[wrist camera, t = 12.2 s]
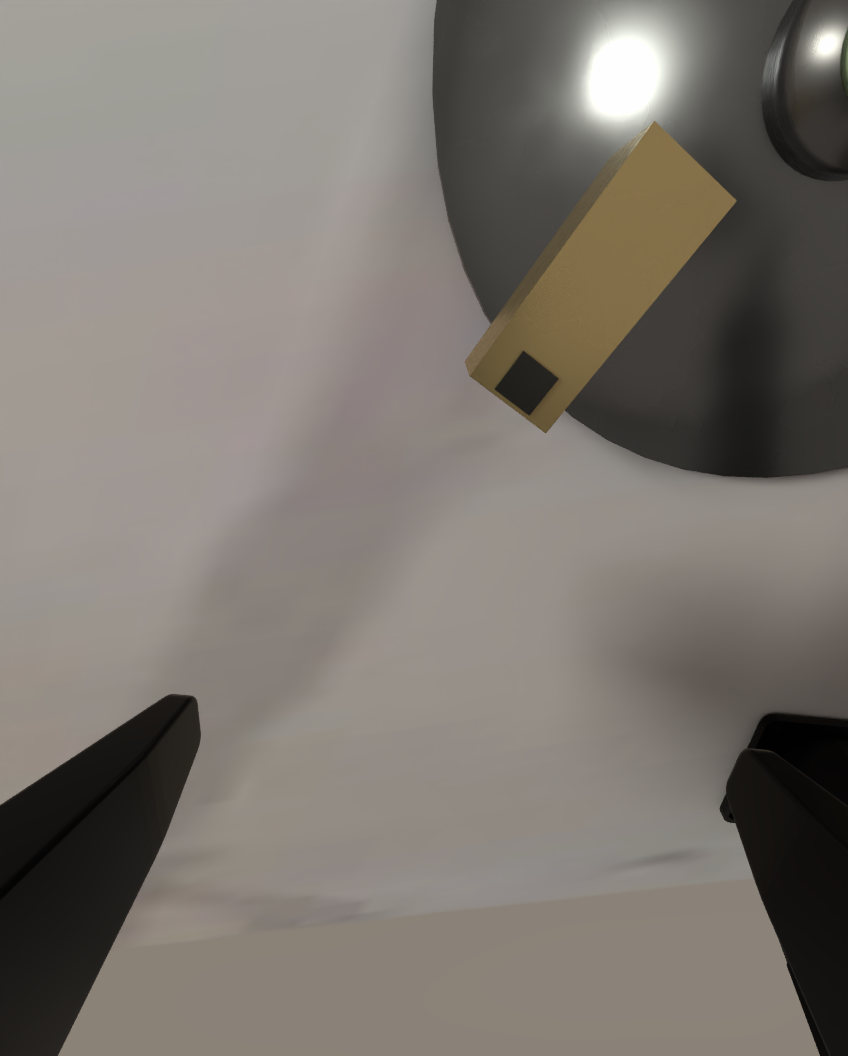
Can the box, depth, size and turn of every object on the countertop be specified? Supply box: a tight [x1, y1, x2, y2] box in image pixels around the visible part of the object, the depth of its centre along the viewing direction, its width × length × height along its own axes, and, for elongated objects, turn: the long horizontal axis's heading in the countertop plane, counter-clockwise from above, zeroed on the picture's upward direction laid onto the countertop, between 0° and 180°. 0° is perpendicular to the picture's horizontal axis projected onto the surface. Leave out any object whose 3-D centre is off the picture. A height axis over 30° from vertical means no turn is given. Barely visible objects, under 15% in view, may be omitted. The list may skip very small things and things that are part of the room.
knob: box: [465, 121, 737, 433], centre depth 13 cm, size 6×2×5 cm, turn 145°
